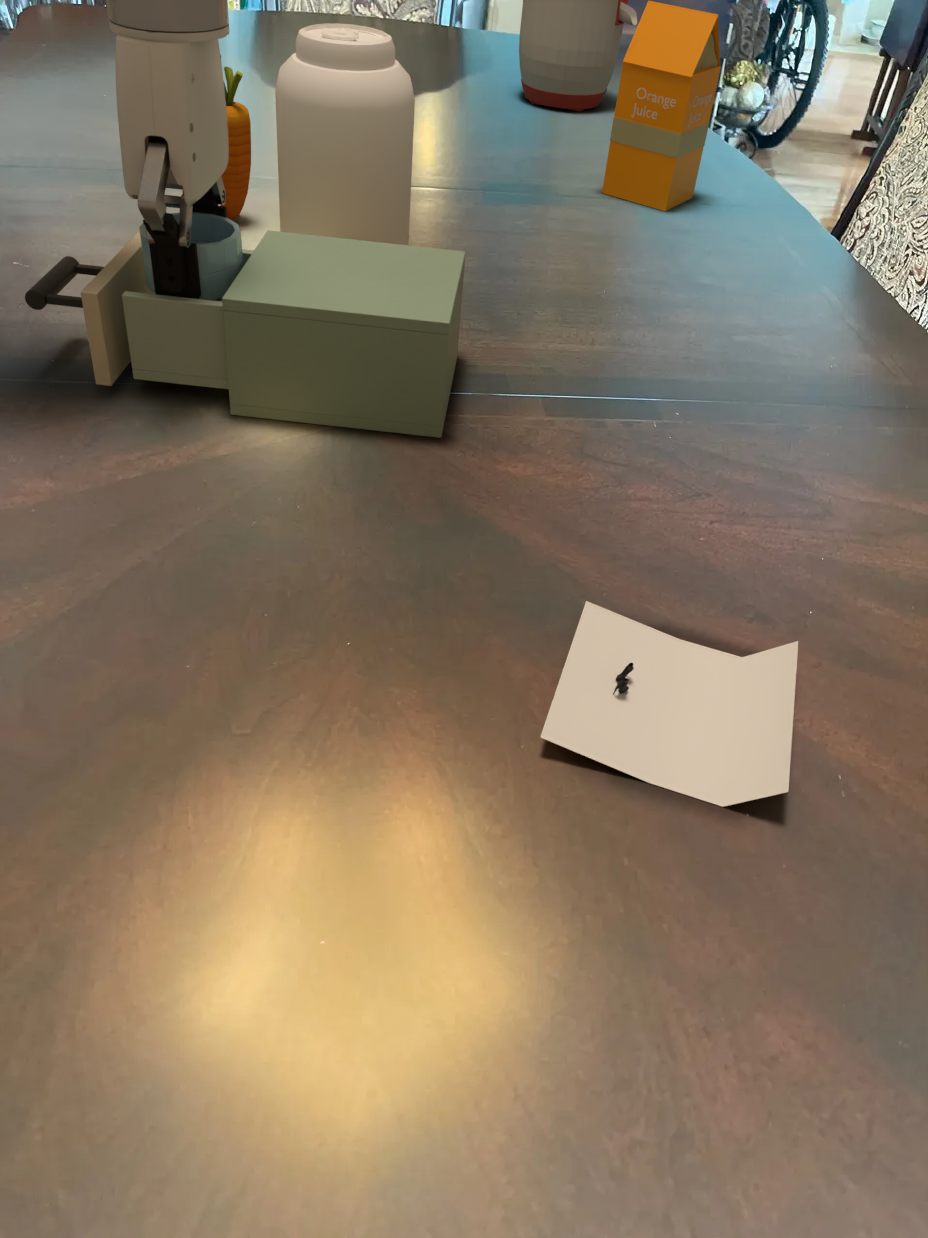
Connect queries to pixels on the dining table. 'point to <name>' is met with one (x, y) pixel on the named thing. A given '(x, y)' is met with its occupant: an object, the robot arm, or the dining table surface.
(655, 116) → the orange juice
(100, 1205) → the dining table surface
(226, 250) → the bowl
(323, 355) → the grey-green cabinet box
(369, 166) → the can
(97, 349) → the drawer
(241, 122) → the carrot
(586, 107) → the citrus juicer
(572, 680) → the folded paper
